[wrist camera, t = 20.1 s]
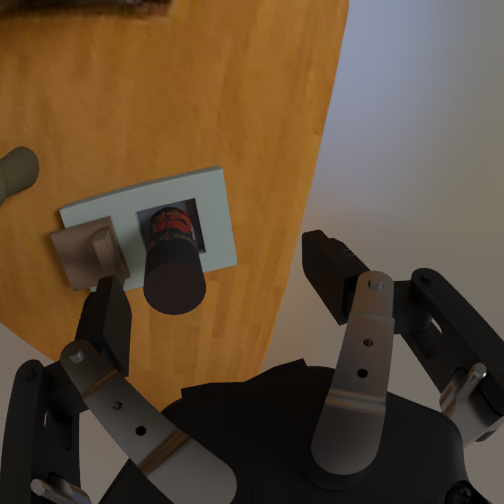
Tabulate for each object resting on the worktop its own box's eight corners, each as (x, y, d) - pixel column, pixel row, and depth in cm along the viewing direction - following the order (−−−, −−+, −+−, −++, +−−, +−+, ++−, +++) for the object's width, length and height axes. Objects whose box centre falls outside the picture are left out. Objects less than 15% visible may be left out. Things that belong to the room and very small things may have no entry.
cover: (51, 232, 33) (39, 249, 29) (110, 215, 35) (103, 230, 31) (75, 288, 38) (67, 308, 34) (130, 275, 39) (127, 295, 35)
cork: (38, 191, 33) (2, 221, 23) (4, 188, 31) (-36, 217, 21) (40, 147, 30) (1, 165, 21) (5, 146, 28) (-38, 164, 19)
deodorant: (201, 229, 42) (218, 291, 29) (168, 254, 42) (172, 324, 29) (174, 197, 38) (178, 249, 26) (140, 225, 39) (130, 288, 26)
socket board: (63, 205, 35) (59, 210, 33) (219, 165, 38) (222, 168, 37) (96, 290, 42) (94, 297, 40) (234, 257, 45) (237, 264, 44)
